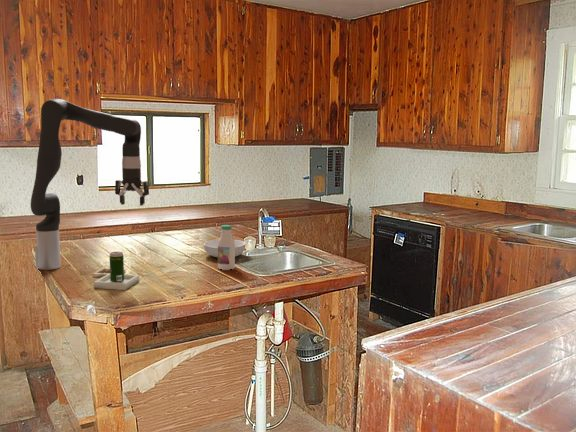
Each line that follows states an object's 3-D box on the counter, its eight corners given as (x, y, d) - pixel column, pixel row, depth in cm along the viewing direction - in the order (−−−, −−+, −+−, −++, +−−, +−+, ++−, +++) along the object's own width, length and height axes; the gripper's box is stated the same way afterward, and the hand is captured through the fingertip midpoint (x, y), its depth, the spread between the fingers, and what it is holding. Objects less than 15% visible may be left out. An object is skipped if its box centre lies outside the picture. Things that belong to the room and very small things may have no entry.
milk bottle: (227, 265, 255) (227, 223, 252) (238, 268, 250) (238, 225, 246) (214, 268, 250) (214, 225, 247) (224, 271, 244) (224, 227, 241)
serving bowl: (195, 256, 273) (195, 242, 271) (227, 250, 288) (227, 237, 287) (222, 263, 259) (222, 249, 257) (254, 256, 274) (254, 243, 273)
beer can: (126, 281, 221) (125, 253, 219) (114, 284, 217) (113, 255, 215) (119, 279, 224) (119, 250, 223) (107, 281, 221) (106, 252, 219)
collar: (92, 277, 231) (92, 273, 231) (103, 271, 241) (103, 267, 240) (114, 278, 229) (114, 275, 229) (125, 272, 239) (125, 269, 239)
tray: (94, 287, 215) (94, 281, 215) (109, 279, 228) (109, 273, 228) (125, 290, 213) (125, 283, 213) (139, 281, 226) (139, 275, 226)
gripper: (111, 167, 229) (112, 205, 231) (143, 168, 227) (144, 206, 229) (119, 165, 236) (120, 203, 238) (150, 167, 234) (151, 204, 236)
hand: (132, 204), depth 234 cm, fingers open, 8 cm apart
